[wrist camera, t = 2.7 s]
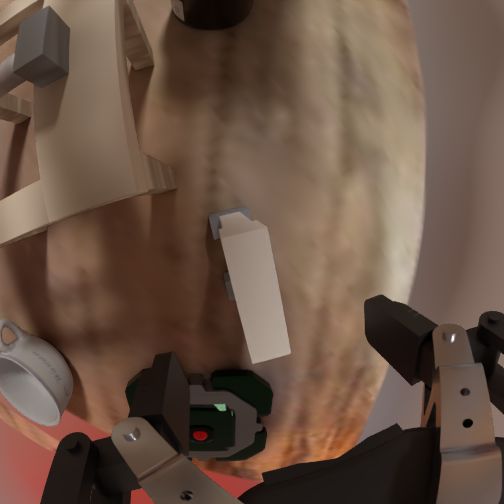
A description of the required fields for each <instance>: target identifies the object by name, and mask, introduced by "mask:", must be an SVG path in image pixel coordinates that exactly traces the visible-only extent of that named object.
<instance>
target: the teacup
mask: <svg viewBox="0 0 504 504" xmlns="http://www.w3.org/2000/svg"><path fill="white" fill-rule="evenodd" d="M4 327H7V328H9V329H10V330H11V331H13V332H14V334H15V335H16V336H17V339H15V340H14V341H13V342H12V343H10V344H7V345H6V344H5V343H4V342H3V339H2V330H3V328H4ZM0 350H1V351H2V352H1V353H0V391H1V392H2V394H3V395H4V396H5V397H6V399H7V400H8V401H9V402H10V403H11V404H12V405H13V406H14V407H15V408H16V409H17V410H18V411H19V412H21V413H22V414H23V415H25V416H26V417H27V418H29V419H31V420H33V421H35V422H37V423H39V424H41V425H44V426H56V425H57V424H58V423H59V422H60V420H61V416H62V414H63V412H64V410H65V409H66V407H67V405H68V403H69V400H70V398H71V396H72V393H73V387H74V383H73V377H72V373H71V371H70V369H69V366H68V365H67V363H66V361H65V359H64V358H63V356H62V355H61V354H60V352H59V351H58V350H57V349H56V348H55V347H53V346H52V345H51V344H49V343H48V342H46V341H44V340H42V339H40V338H38V337H35V336H30V335H29V334H28V333H27V332H26V331H25V330H22V329H21V328H20V327H19V326H17V325H16V324H15V323H14V322H12V321H11V320H8V319H0Z"/></svg>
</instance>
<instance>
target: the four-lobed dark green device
mask: <svg viewBox="0 0 504 504" xmlns="http://www.w3.org/2000/svg"><path fill="white" fill-rule="evenodd" d="M145 370H146V369H143V370H141V371H140V372H139V373H138V374H137V375H136V376H134V377H133V378H132V379H131V380H130V381H129V382H128V384H127V387H126V390H125V393H126V397H127V400H128V404H129V407H130V408H131V405H132V401H133V398H134V394H135V391H136V387H137V384H138V380H139V377H140V376H141V374H142V373H143V372H144V371H145ZM187 382H188V385H189V389H190V417H189V456H185V457H186V458H187V459H189V460H190V461H192V457H196V458H197V459H198V460H199V461H208V460H209V459H210V458H212V457H216V460H217V461H240V460H246V459H248V458H250V457H252V456H254V455H256V454H258V453H259V452H261V451H263V450H264V449H265V444H266V438H267V431H266V428H265V427H263V424H262V420H261V416H267V415H269V414H270V413H271V406H272V399H273V392H272V389H271V386H270V384H269V383H268V382H266V381H265V380H264V379H262V378H261V377H260V376H258V375H257V374H256V373H254V372H253V371H250V370H215V371H214V372H213V373H212V381H206V380H205V379H204V377H203V376H202V374H191V375H190V376H189V379H188V380H187Z"/></svg>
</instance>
